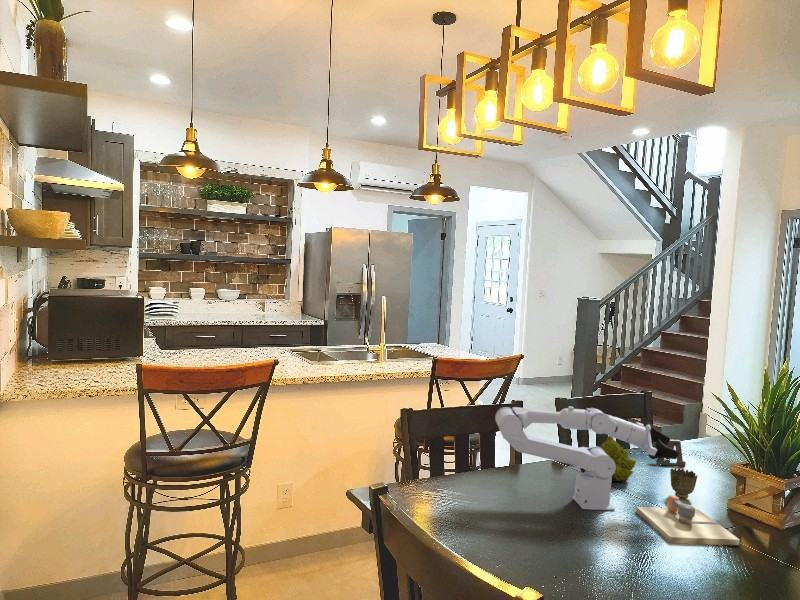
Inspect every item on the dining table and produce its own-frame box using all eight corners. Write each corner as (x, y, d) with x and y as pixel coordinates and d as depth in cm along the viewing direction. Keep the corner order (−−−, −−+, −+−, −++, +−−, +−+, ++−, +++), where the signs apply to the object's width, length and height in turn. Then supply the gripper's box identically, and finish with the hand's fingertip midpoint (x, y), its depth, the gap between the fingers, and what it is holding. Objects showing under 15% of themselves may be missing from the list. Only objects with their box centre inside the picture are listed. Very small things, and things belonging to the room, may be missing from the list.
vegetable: (570, 464, 187) (595, 425, 189) (589, 480, 197) (612, 444, 199) (608, 488, 176) (634, 447, 178) (626, 504, 185) (650, 465, 187)
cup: (698, 504, 170) (700, 477, 170) (671, 500, 172) (674, 474, 171) (690, 494, 178) (693, 469, 177) (665, 491, 179) (667, 466, 178)
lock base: (670, 542, 143) (671, 529, 143) (636, 512, 161) (637, 499, 161) (739, 545, 145) (740, 531, 144) (697, 514, 162) (699, 502, 162)
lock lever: (697, 523, 151) (698, 510, 151) (682, 523, 151) (683, 509, 151) (677, 508, 161) (678, 495, 161) (663, 507, 160) (664, 494, 160)
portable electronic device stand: (660, 466, 203) (662, 443, 203) (650, 459, 211) (652, 436, 211) (685, 468, 203) (687, 444, 203) (674, 460, 211) (676, 438, 211)
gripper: (640, 433, 155) (688, 450, 155) (627, 408, 169) (671, 424, 169) (628, 454, 157) (676, 471, 157) (616, 427, 171) (659, 443, 171)
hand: (672, 448), depth 163 cm, fingers open, 7 cm apart
